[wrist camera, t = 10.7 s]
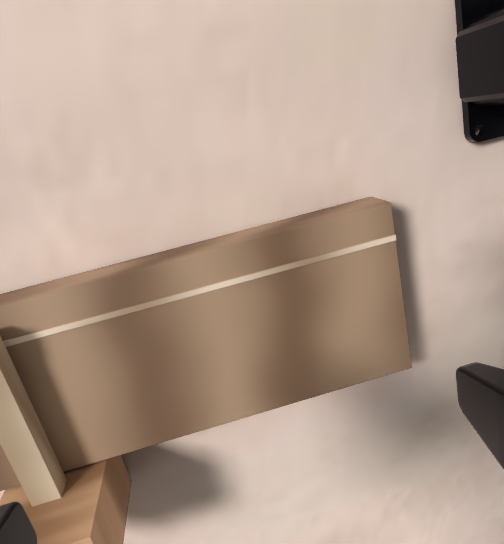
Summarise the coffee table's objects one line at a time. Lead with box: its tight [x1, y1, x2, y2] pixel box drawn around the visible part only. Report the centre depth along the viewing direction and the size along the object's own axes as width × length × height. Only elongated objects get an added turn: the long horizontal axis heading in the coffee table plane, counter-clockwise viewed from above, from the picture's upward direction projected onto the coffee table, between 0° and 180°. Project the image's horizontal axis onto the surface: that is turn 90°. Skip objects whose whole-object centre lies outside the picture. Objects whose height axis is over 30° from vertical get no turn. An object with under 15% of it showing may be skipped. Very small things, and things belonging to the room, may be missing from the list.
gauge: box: [0, 336, 131, 544], centre depth 18 cm, size 4×11×6 cm, turn 13°
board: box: [0, 197, 412, 491], centre depth 20 cm, size 22×8×2 cm, turn 103°
